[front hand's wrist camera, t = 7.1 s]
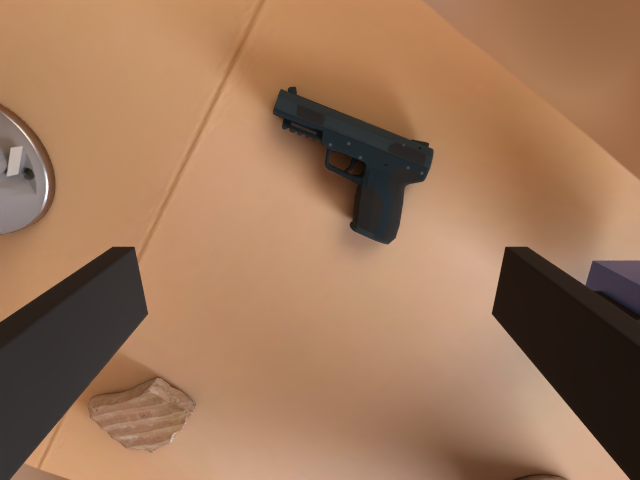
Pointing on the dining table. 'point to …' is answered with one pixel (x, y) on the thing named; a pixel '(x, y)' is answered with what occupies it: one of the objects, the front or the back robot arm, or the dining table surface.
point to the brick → (617, 281)
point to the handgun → (362, 160)
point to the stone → (142, 414)
